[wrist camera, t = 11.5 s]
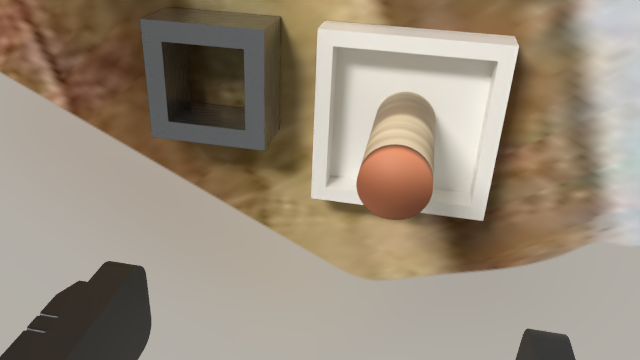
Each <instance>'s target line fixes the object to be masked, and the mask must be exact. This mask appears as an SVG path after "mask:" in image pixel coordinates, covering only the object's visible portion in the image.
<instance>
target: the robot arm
mask: <svg viewBox="0 0 640 360" xmlns="http://www.w3.org/2000/svg"><path fill="white" fill-rule="evenodd" d="M150 330H151V313H150V305H149V295H148V287H147V279H146V273H145V270H144V268H143V267H142V266H137V265H131V264H125V263H118V262H111V261H108V262H105V263H104V264H103V265H102V266H101V267H100V268H99V270H98V271H97V272H96V273H95V274H94V275H93V277H92V278H91V279H90V280H89V281H88V282H85V281H78V282H76V283H75V284H73V285H71V286H70V287H68V288H66V289H65V290H63V291H61V292H60V293H58V294H57V295H56V296H55V297H54V298H53V299H52V300H51V301H50V302H49V303H48V305H47V306H46V307H45V308H44V309H43V310H42V311H41V313H40V316H37V317H36V318H35V319H34V320H33V321H32V322H31V323H30V324H29V326H28V327H27V330H26V331H23V332H22V333H21V334H20V336H19V337H18V338H17V339H16V340H15V341H14V342H13V343H12V344H11V346H10V347H9V348H8V349H7V350H6V351H5V352H4V353H3V354H2V355H1V357H0V360H138V358H139V357H140V355H141V353H142V352H143V350H144V348H145V346H146V344H147V341H148V339H149V335H150ZM516 360H575V357H574V353H573V350H572V346H571V343H570V340H569V338H568V336H567V335H564V334H558V333H551V332H546V331H539V330H533V329H526V330H525V332H524V334H523V337H522V340H521V343H520V347H519V350H518V353H517V357H516Z"/></svg>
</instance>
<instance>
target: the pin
mask: <svg viewBox="0 0 640 360" xmlns="http://www.w3.org/2000/svg"><path fill="white" fill-rule="evenodd" d="M434 146H435V113H434V110H433V108H432V106H431V104H430V103H429V102H428V101H427V100H426V99H425V98H424V97H422V96H421V95H418V94H416V93H413V92H398V93H395V94H392V95H390V96H389V97H387V98H386V99H385V100H384V101H383V102H382V103H381V105H380V106H379V108H378V110H377V114H376V117H375V120H374V123H373V127H372V130H371V133H370V137H369V140H368V143H367V147H366V150H365V153H364V156H363V160H362V163H361V166H360V170H359V173H358V176H357V181H356V187H357V193H358V196H359V198H360V200H361V202H362V203H363V204H364V206H365V207H366V208H367V209H368V210H369V211H371V212H372V213H374V214H375V215H377V216H380V217H382V218H385V219H391V220H401V219H407V218H410V217H413V216H415V215H417V214H418V213H420V212H421V211H422V210H423V209H424V208H425V207H426V206H427V205H428V203H429V201H430V199H431V197H432V193H433V174H434Z"/></svg>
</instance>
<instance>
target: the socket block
mask: <svg viewBox="0 0 640 360" xmlns="http://www.w3.org/2000/svg"><path fill="white" fill-rule="evenodd" d="M140 25H141V35H142V44H143V54H144V64H145V73H146V83H147V93H148V102H149V112H150V121H151V131H152V137H155V138H164V139H172V140H180V141H188V142H196V143H205V144H213V145H221V146H229V147H238V148H246V149H254V150H262V151H265V149H266V148H267V146H268V145H269V144H270V142H271V141H272V139H273V138H274V136H275V135H276V133H277V132H278V130H279V129H280V48H281V17H280V16H268V15H256V14H244V13H232V12H220V11H208V10H197V9H185V8H173V7H166V8H164V9H161V10H159V11H157V12H155V13H152V14H150V15H148V16H145V17H143V18H141V19H140ZM188 44H193V45H203V46H214V47H224V48H235V49H244V86H245V108H242V107H232V106H223V105H214V104H205V103H196V102H191V88H190V73H189V58H188Z"/></svg>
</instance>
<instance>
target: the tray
mask: <svg viewBox="0 0 640 360" xmlns="http://www.w3.org/2000/svg"><path fill="white" fill-rule="evenodd" d="M518 49H519V45H518V43H517V40H516V38H515V36H505V35H493V34H481V33H469V32H457V31H445V30H434V29H422V28H410V27H398V26H386V25H374V24H362V23H351V22H339V21H327V20H325V21H324V22H323V23H322V25H321V26H320V27H319V28H318V37H317V63H316V88H315V113H314V139H313V164H312V189H311V198H314V199H322V200H329V201H337V202H344V203H352V204H359V205H364V204H363V203H362V202H361V200H360V198H359V196H358V193H357V187H356V181H357V176H358V173H359V170H360V166H361V163H362V160H363V156H364V153H365V150H366V147H367V143H368V140H369V137H370V133H371V130H372V127H373V123H374V120H375V117H376V114H377V110H378V108H379V106H380V105H381V103H382V102H383V101H384V100H385V99H386V98H387V97H389V96H390V95H392V94H395V93H398V92H413V93H416V94H418V95H421V96H422V97H424V98H425V99H426V100H427V101H428V102H429V103H430V104H431V106H432V108H433V110H434V113H435V146H434V174H433V193H432V197H431V199H430V201H429V203H428V205H427V206H426V207H425V208H424V209H423V210H422V211H421V212H420V213H427V214H435V215H442V216H450V217H457V218H465V219H472V220H480V221H483V220H484V215H485V210H486V205H487V200H488V195H489V190H490V186H491V181H492V176H493V171H494V166H495V161H496V156H497V152H498V147H499V142H500V137H501V132H502V127H503V122H504V117H505V113H506V108H507V103H508V98H509V93H510V88H511V83H512V79H513V74H514V69H515V64H516V59H517V54H518Z"/></svg>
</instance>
